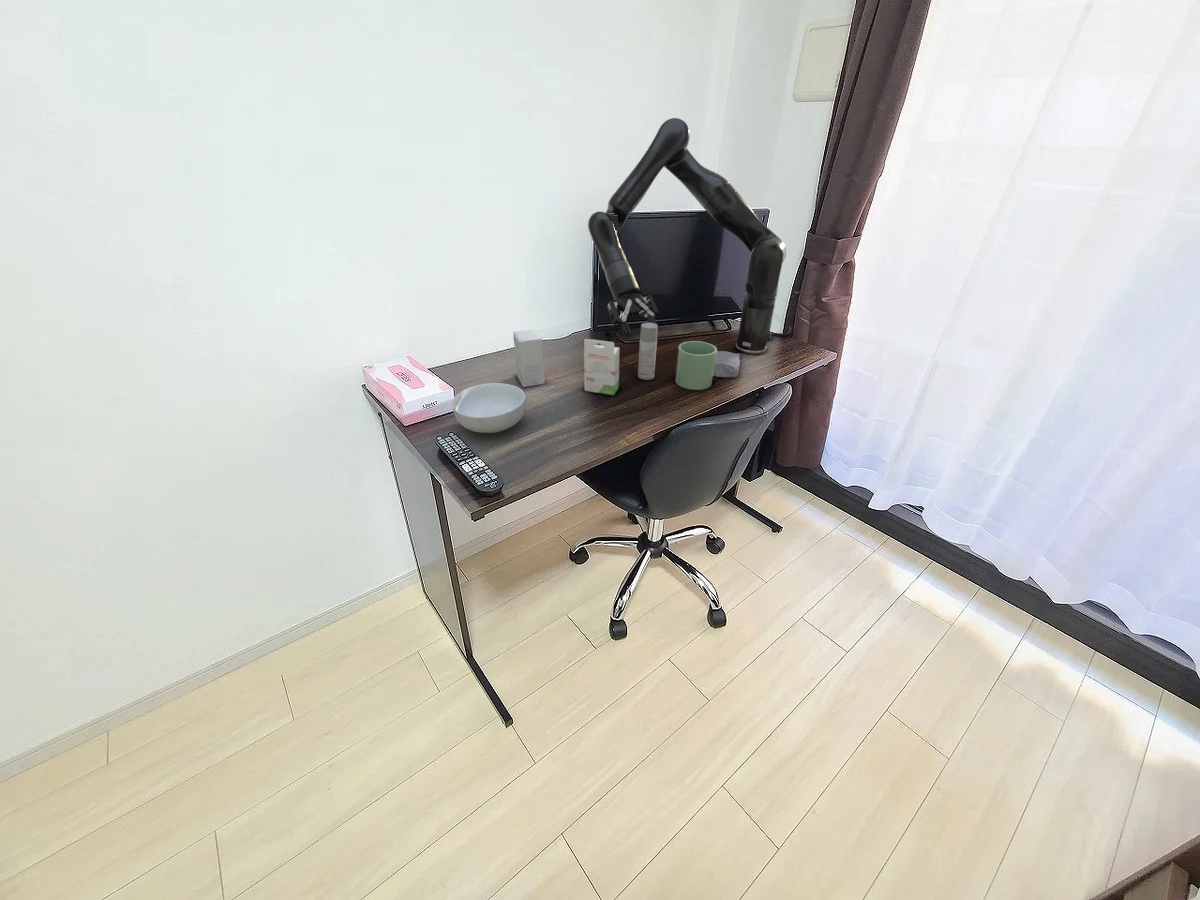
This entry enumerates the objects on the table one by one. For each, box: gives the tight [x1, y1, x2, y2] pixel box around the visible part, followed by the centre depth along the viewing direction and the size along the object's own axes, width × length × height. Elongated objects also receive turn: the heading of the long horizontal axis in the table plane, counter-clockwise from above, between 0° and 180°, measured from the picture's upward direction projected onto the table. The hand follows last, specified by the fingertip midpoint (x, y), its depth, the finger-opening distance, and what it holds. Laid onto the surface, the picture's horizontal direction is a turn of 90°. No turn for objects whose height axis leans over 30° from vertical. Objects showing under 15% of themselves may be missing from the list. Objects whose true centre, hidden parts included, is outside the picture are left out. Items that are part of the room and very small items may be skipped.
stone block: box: [713, 350, 741, 379], centre depth 146 cm, size 12×5×10 cm
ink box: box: [583, 338, 620, 396], centre depth 131 cm, size 9×5×15 cm, turn 71°
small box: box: [513, 329, 546, 388], centre depth 136 cm, size 8×6×13 cm
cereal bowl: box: [451, 382, 527, 434], centre depth 117 cm, size 17×17×7 cm
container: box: [637, 322, 659, 381], centre depth 138 cm, size 5×5×15 cm
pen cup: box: [674, 340, 718, 391], centre depth 137 cm, size 10×10×10 cm
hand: (642, 333), depth 138 cm, fingers open, 8 cm apart
